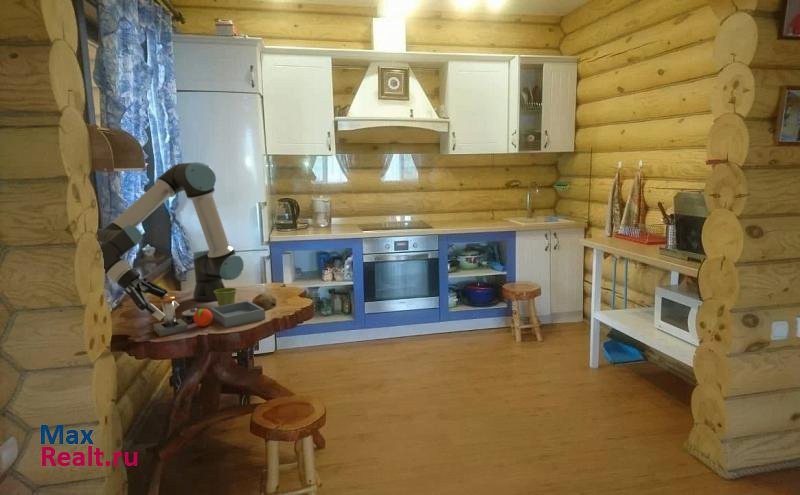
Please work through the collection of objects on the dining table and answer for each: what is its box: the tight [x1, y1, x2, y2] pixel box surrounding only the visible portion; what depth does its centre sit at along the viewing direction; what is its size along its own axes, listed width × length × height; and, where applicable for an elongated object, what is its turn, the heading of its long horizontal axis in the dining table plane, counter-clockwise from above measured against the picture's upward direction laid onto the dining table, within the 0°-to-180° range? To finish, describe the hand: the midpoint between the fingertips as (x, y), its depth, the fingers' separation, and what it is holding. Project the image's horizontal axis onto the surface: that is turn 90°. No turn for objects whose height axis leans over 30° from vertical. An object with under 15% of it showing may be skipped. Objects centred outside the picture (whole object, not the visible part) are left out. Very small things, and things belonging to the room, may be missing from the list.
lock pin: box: [159, 295, 177, 327], centre depth 184 cm, size 5×5×13 cm
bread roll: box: [251, 292, 277, 310], centre depth 213 cm, size 10×10×8 cm
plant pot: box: [214, 287, 238, 306], centre depth 211 cm, size 9×9×9 cm
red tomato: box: [193, 307, 214, 327], centre depth 188 cm, size 8×7×7 cm
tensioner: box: [153, 307, 201, 338], centre depth 191 cm, size 18×20×4 cm
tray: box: [209, 300, 266, 328], centre depth 198 cm, size 18×16×4 cm
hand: (170, 312), depth 183 cm, fingers open, 13 cm apart
